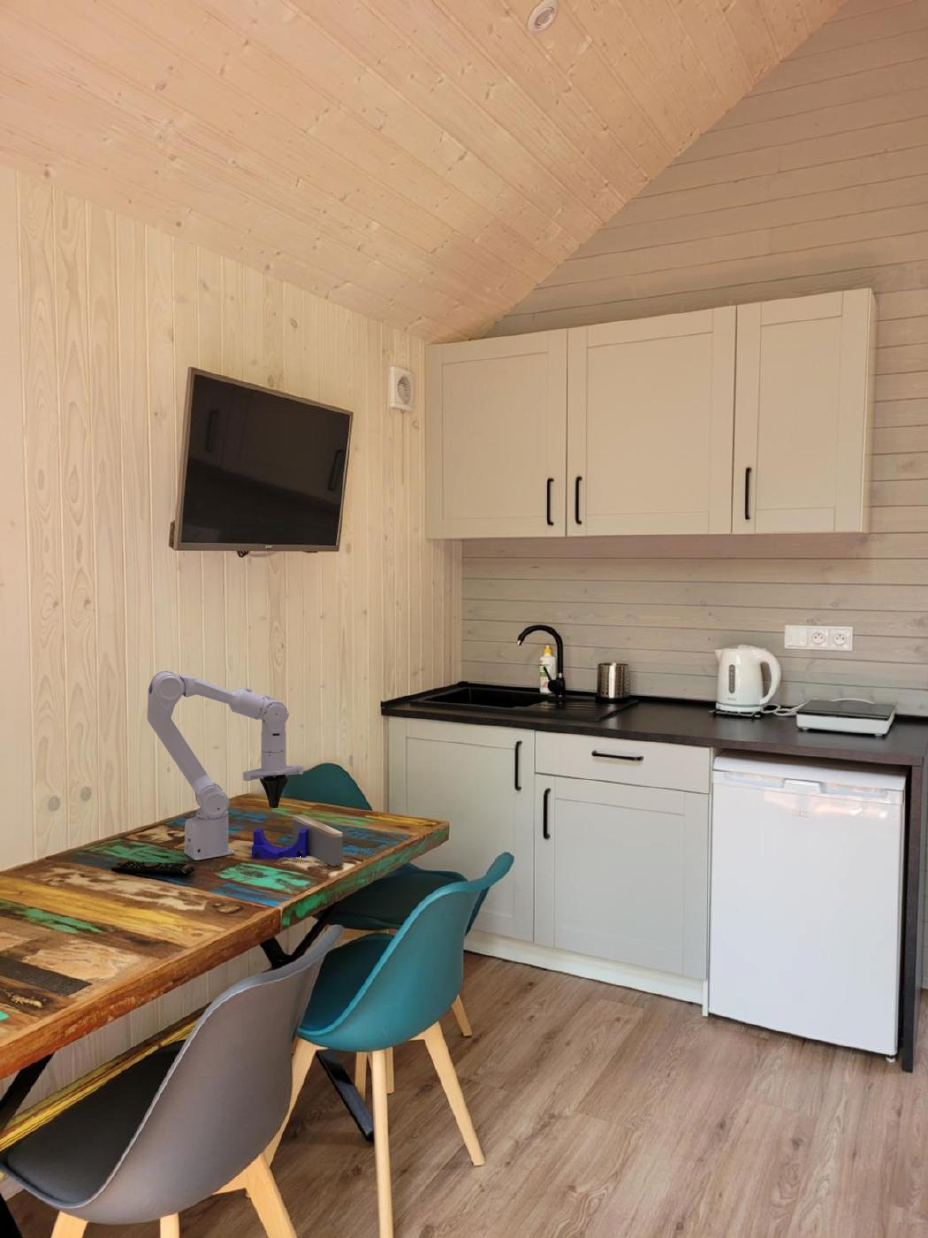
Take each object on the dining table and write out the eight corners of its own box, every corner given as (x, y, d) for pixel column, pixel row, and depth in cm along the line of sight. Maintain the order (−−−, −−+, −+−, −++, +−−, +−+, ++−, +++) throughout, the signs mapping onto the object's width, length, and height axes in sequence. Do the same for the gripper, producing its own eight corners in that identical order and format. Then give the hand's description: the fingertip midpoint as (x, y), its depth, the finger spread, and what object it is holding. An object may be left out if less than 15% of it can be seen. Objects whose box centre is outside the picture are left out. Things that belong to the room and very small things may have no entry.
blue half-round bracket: (251, 859, 214) (251, 833, 213) (256, 853, 218) (256, 828, 218) (303, 860, 213) (303, 834, 213) (307, 854, 218) (308, 829, 217)
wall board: (332, 866, 208) (332, 834, 208) (292, 845, 224) (292, 815, 224) (342, 864, 209) (342, 832, 209) (302, 844, 226) (302, 814, 225)
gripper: (251, 756, 215) (251, 815, 215) (308, 750, 223) (308, 806, 224) (239, 751, 221) (239, 809, 221) (295, 745, 229) (295, 800, 230)
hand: (273, 807), depth 223 cm, fingers closed
